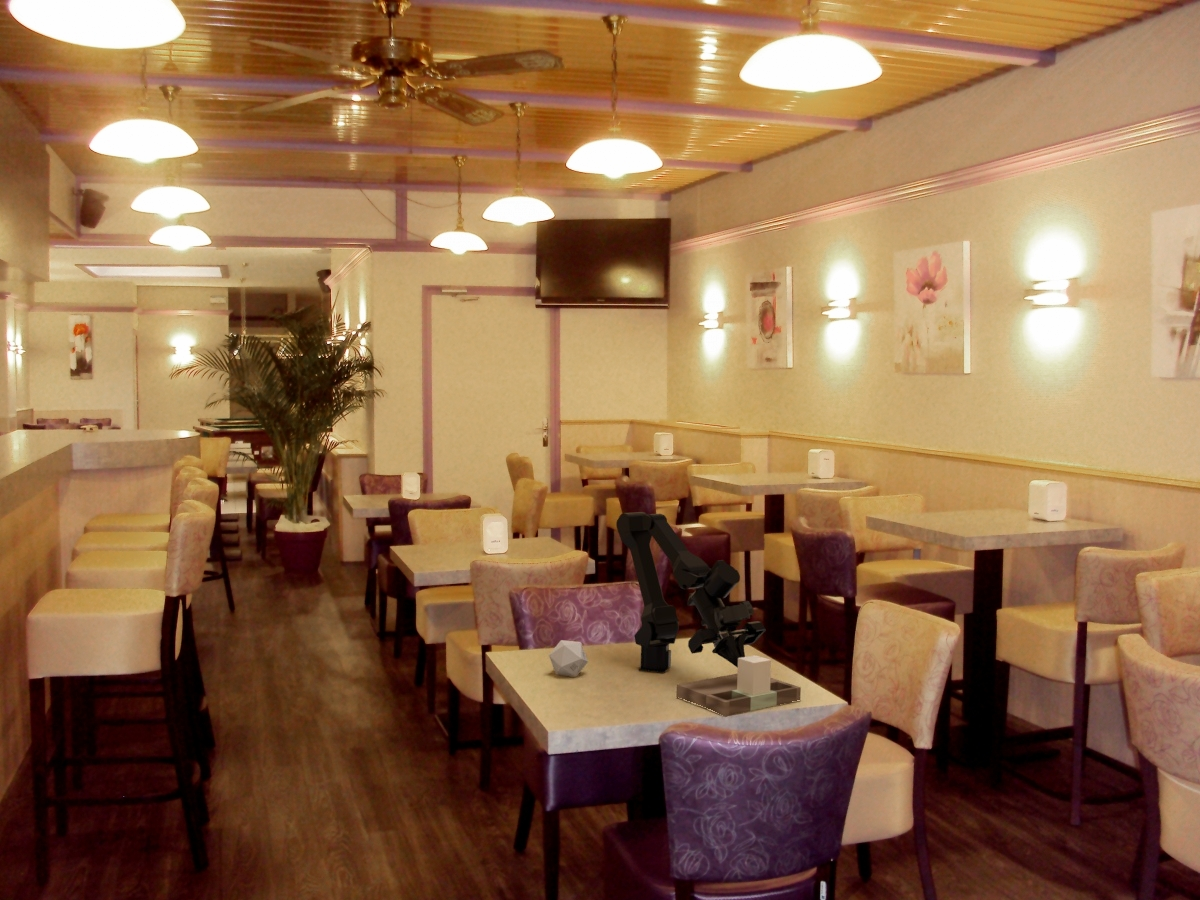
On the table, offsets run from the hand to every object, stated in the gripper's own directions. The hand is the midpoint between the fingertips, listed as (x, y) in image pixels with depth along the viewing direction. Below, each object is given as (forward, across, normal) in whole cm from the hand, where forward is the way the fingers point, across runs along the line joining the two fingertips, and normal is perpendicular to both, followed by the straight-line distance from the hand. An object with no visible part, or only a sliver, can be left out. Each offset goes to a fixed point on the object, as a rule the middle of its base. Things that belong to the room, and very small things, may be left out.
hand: (744, 669), depth 238 cm
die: (-22, -20, +32) cm, 44 cm away
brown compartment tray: (+4, 0, +6) cm, 7 cm away
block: (+5, 0, +1) cm, 5 cm away
